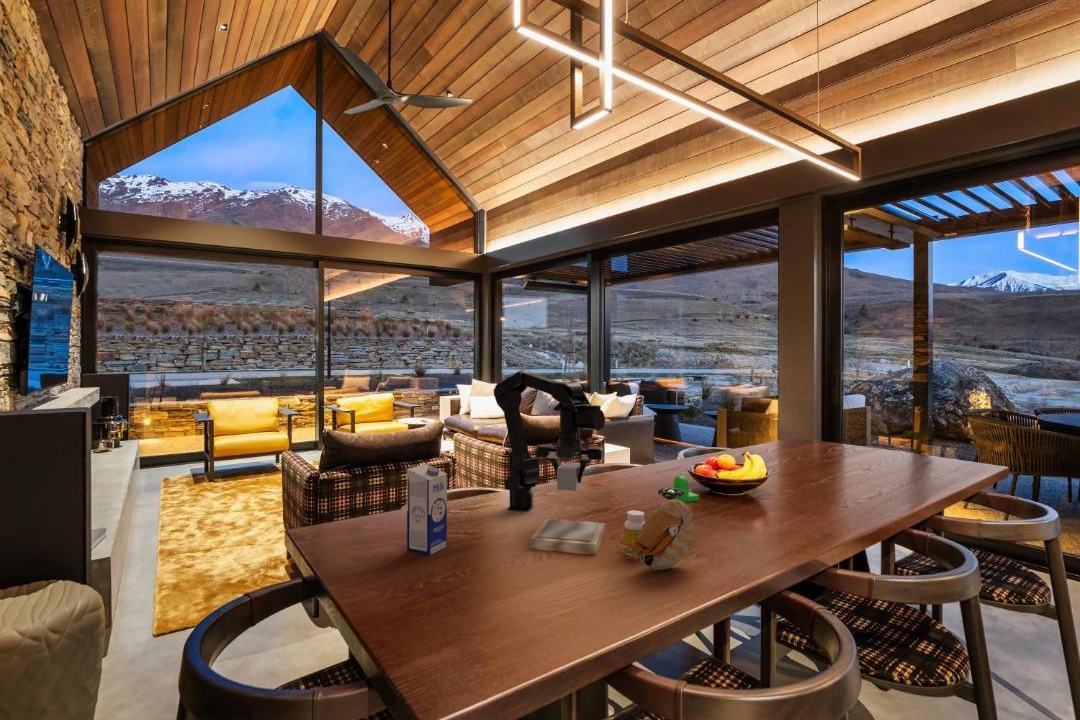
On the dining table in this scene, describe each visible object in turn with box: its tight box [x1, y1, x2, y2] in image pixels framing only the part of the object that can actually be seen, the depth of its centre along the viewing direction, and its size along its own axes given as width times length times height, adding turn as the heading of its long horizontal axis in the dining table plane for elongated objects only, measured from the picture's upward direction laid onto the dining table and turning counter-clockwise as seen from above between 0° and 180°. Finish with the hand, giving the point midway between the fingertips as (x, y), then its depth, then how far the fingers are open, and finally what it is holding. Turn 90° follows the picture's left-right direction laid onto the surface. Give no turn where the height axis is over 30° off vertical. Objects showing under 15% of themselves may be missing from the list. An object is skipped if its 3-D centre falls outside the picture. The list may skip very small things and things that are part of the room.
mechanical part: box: [664, 475, 700, 503], centre depth 181 cm, size 12×6×8 cm, turn 21°
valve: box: [657, 486, 684, 501], centre depth 141 cm, size 7×7×12 cm
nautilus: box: [611, 499, 694, 571], centre depth 118 cm, size 8×22×15 cm, turn 119°
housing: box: [556, 461, 583, 492], centre depth 154 cm, size 5×10×6 cm, turn 166°
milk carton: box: [406, 463, 448, 556], centre depth 131 cm, size 7×7×20 cm
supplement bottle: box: [623, 510, 646, 557], centre depth 129 cm, size 5×5×10 cm
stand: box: [529, 518, 606, 556], centre depth 138 cm, size 16×17×3 cm
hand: (569, 482), depth 154 cm, fingers closed on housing, 5 cm apart
